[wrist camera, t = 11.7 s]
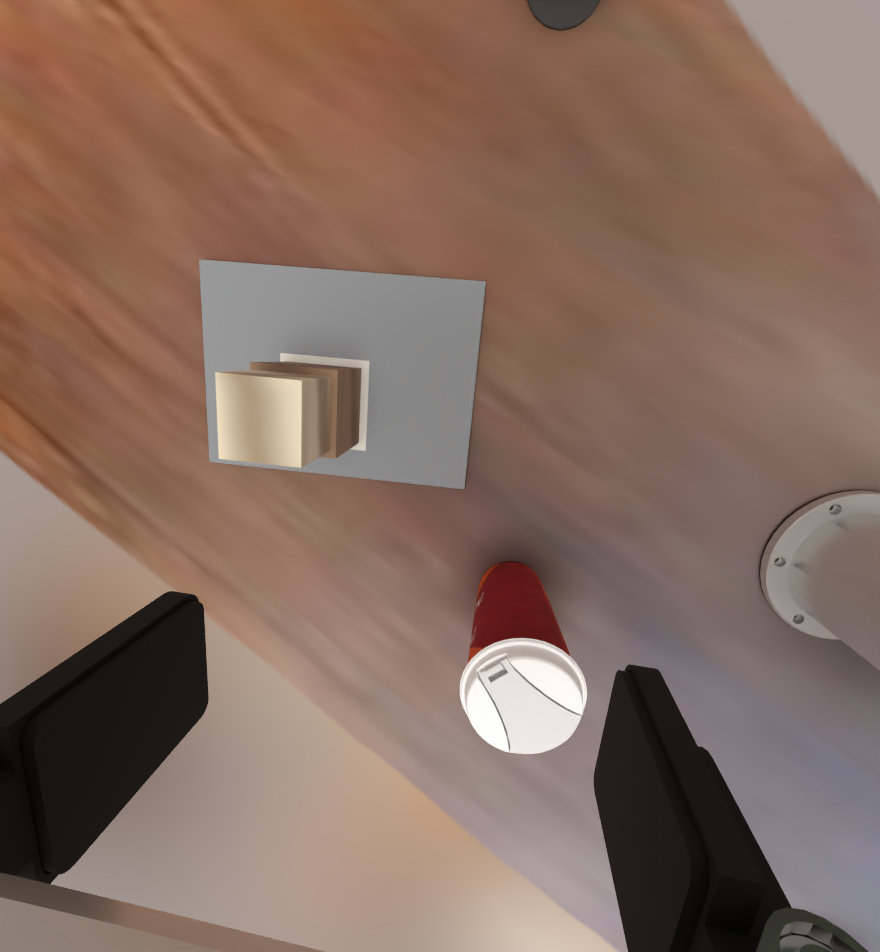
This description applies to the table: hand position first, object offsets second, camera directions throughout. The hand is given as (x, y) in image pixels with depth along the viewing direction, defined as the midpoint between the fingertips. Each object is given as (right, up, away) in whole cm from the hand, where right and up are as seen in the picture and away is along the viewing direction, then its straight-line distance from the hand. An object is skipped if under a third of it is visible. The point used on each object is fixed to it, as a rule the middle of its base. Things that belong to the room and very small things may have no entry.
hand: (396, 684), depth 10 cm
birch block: (-9, +9, +21) cm, 24 cm away
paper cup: (+7, -6, +30) cm, 31 cm away
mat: (-7, +12, +26) cm, 30 cm away
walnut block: (-8, +10, +26) cm, 30 cm away
